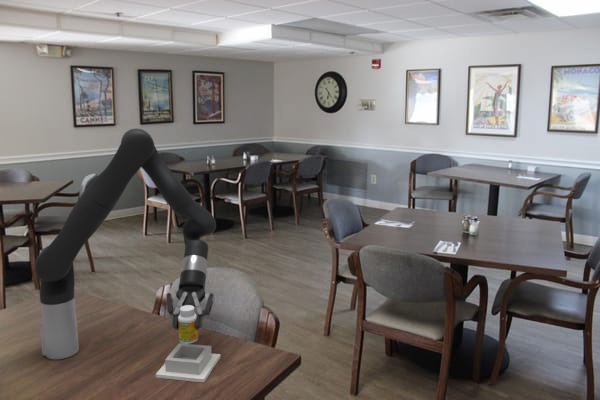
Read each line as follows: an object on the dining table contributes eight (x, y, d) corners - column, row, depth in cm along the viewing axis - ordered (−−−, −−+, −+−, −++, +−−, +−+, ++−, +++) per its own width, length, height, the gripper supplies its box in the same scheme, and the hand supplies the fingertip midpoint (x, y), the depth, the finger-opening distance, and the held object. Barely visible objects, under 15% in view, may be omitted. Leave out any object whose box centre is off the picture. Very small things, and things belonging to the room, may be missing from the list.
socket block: (155, 377, 141) (155, 362, 140) (176, 353, 154) (175, 339, 153) (203, 382, 138) (203, 367, 138) (220, 357, 152) (220, 343, 151)
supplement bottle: (179, 345, 142) (177, 312, 140) (178, 336, 147) (176, 305, 145) (198, 342, 143) (197, 310, 141) (197, 334, 148) (196, 303, 146)
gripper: (166, 268, 148) (157, 324, 139) (215, 268, 148) (210, 324, 139) (172, 279, 155) (163, 333, 145) (219, 279, 155) (214, 333, 145)
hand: (186, 328), depth 142 cm, fingers closed on supplement bottle, 5 cm apart
